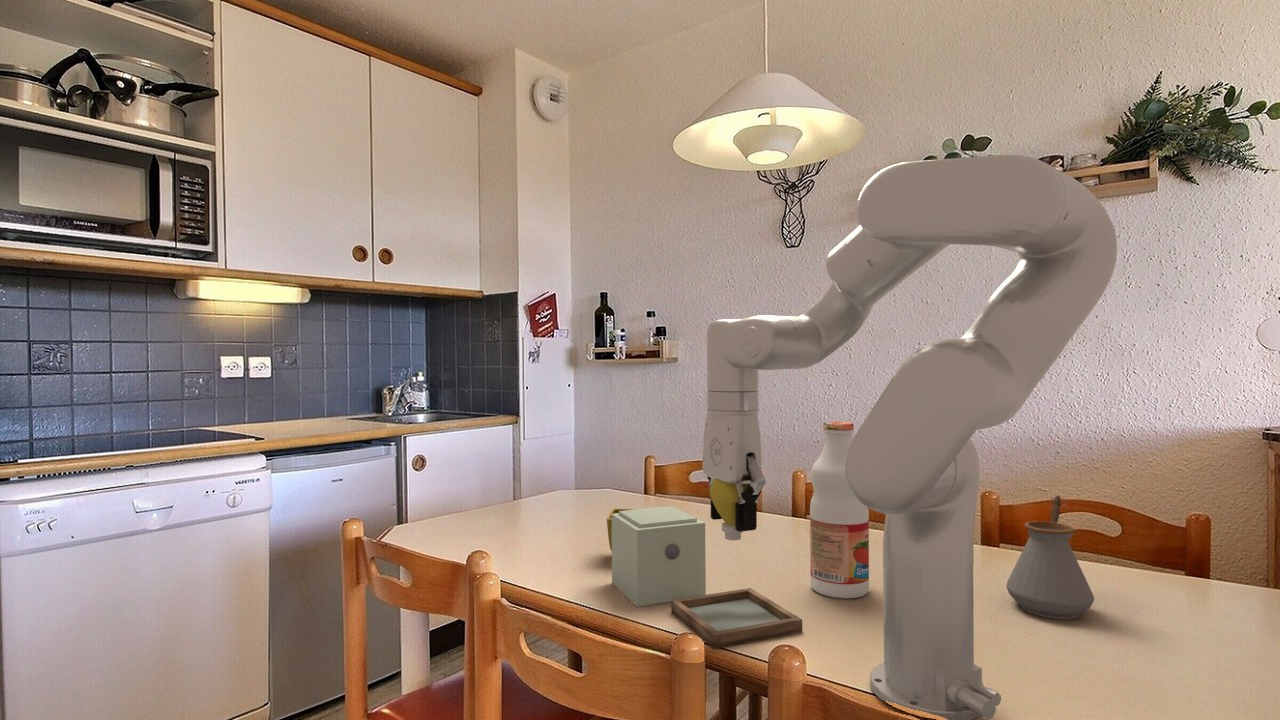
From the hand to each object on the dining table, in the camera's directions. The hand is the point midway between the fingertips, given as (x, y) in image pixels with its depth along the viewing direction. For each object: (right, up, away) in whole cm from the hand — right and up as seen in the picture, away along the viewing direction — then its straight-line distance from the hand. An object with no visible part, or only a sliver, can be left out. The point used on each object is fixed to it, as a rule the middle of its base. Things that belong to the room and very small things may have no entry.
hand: (732, 523), depth 98 cm
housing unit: (-11, -15, +14) cm, 23 cm away
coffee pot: (+52, -14, +8) cm, 55 cm away
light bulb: (0, -2, 0) cm, 2 cm away
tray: (0, -14, 0) cm, 14 cm away
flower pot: (-15, -15, +30) cm, 37 cm away
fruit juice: (+20, -15, +13) cm, 28 cm away
